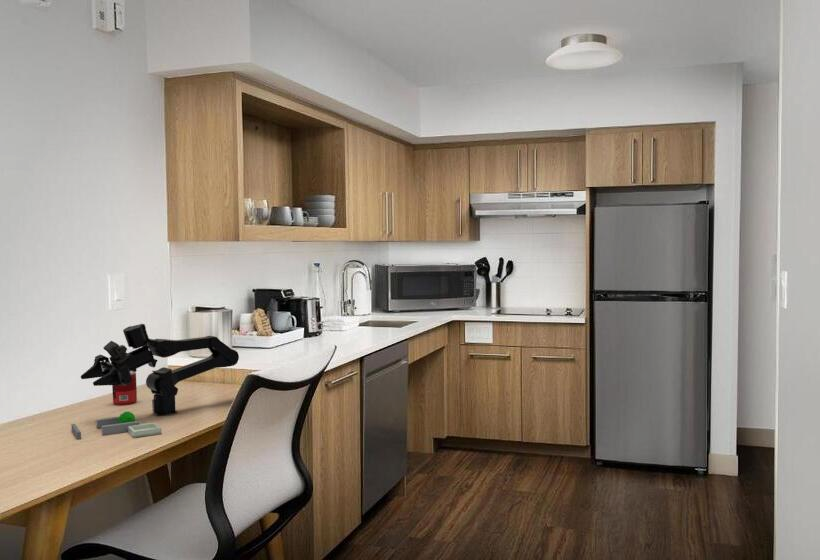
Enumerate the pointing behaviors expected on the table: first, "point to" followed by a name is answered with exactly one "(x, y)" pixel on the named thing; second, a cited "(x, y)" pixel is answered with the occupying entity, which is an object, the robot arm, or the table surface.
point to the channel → (107, 426)
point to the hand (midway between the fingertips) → (87, 380)
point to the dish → (144, 430)
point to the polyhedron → (126, 417)
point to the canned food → (125, 392)
